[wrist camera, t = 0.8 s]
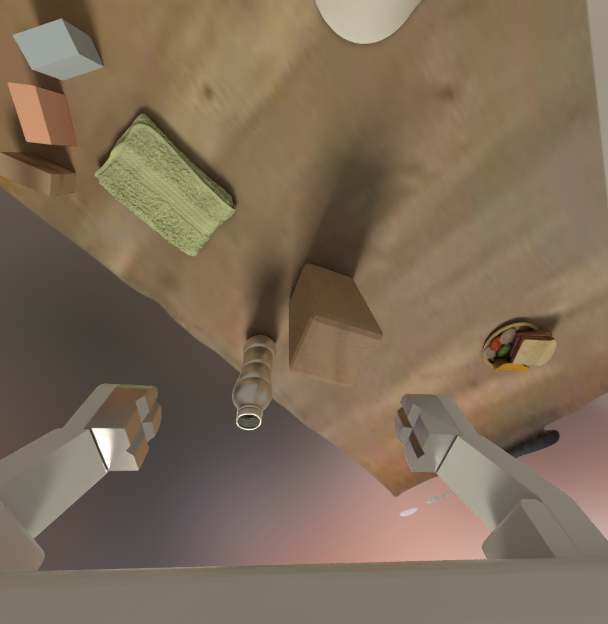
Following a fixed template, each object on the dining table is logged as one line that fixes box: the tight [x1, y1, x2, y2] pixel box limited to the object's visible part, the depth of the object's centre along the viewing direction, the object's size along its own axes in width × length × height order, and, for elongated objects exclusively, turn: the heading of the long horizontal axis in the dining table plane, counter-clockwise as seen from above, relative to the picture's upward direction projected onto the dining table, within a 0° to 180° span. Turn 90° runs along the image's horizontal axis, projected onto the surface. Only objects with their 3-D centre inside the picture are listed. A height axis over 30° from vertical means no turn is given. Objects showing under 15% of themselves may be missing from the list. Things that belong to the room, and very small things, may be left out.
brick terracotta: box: [7, 82, 77, 146], centre depth 36 cm, size 6×3×5 cm, turn 174°
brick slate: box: [13, 18, 104, 80], centre depth 33 cm, size 6×3×5 cm, turn 104°
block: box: [289, 263, 382, 387], centre depth 44 cm, size 10×10×20 cm
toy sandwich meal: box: [482, 322, 557, 370], centre depth 60 cm, size 12×14×5 cm
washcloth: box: [95, 114, 236, 256], centre depth 42 cm, size 13×18×3 cm
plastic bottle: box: [232, 335, 276, 430], centre depth 49 cm, size 6×7×20 cm
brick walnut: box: [0, 152, 76, 196], centre depth 39 cm, size 6×3×5 cm, turn 64°
